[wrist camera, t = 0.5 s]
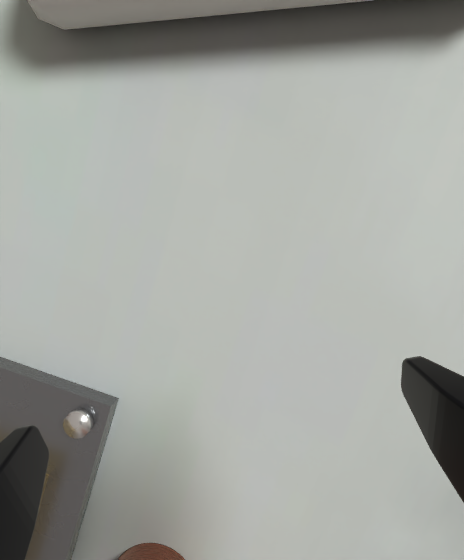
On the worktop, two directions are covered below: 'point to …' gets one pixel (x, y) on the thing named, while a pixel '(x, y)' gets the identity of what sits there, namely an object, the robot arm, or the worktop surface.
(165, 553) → the copper cylinder
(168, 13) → the tube
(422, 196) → the worktop surface
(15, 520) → the robot arm
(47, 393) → the gray mounting plate
